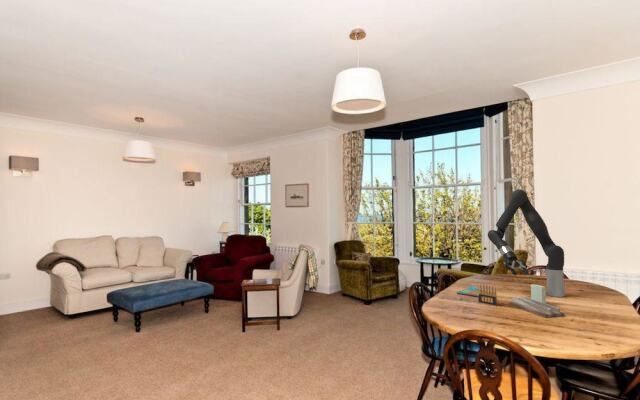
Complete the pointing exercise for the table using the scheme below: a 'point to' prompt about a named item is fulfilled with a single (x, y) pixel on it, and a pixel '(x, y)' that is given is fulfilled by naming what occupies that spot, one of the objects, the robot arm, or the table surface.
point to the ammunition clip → (487, 294)
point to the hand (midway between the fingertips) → (521, 274)
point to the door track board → (536, 307)
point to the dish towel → (470, 292)
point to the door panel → (538, 293)
